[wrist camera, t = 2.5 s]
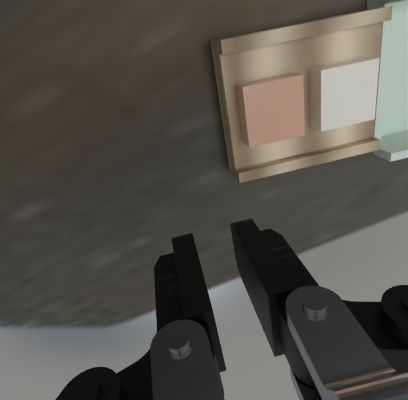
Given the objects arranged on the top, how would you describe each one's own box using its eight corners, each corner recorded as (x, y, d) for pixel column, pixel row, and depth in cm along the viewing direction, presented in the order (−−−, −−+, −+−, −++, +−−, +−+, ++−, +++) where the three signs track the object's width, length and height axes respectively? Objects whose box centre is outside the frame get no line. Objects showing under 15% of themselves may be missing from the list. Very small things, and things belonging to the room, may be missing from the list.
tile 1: (242, 141, 28) (249, 148, 27) (235, 84, 26) (242, 87, 24) (294, 129, 29) (304, 135, 27) (292, 72, 26) (303, 74, 25)
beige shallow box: (229, 168, 33) (239, 183, 29) (210, 41, 27) (220, 40, 24) (354, 138, 34) (379, 149, 30) (361, 10, 28) (392, 5, 25)
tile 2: (310, 126, 29) (321, 131, 27) (309, 68, 27) (321, 70, 25) (360, 114, 29) (374, 119, 28) (364, 57, 27) (379, 57, 25)
